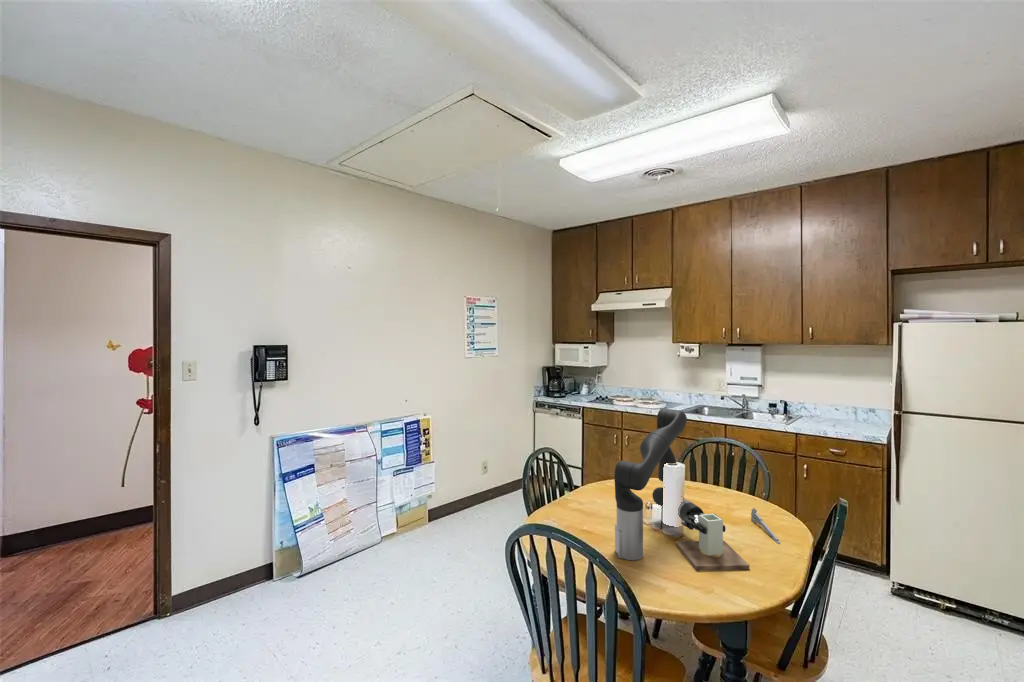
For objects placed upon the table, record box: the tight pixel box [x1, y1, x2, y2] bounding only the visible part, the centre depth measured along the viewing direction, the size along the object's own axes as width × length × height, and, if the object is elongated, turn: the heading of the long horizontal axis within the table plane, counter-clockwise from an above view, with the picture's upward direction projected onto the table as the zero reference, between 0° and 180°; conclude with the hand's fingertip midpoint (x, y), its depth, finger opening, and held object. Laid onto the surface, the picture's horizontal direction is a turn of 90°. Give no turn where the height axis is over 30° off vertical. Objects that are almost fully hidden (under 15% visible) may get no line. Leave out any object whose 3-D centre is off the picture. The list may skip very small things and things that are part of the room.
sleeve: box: [698, 513, 724, 556], centre depth 167 cm, size 6×6×12 cm
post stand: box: [675, 539, 750, 572], centre depth 167 cm, size 18×18×11 cm
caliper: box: [750, 507, 781, 545], centre depth 186 cm, size 20×1×6 cm, turn 0°
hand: (714, 530), depth 164 cm, fingers open, 6 cm apart
